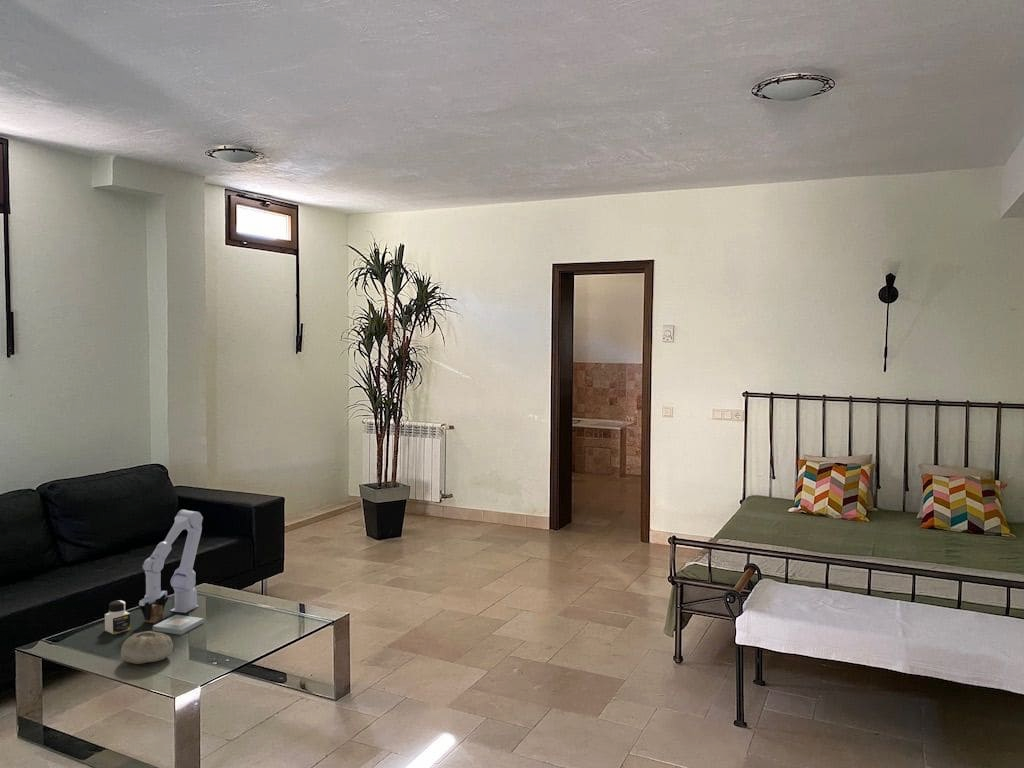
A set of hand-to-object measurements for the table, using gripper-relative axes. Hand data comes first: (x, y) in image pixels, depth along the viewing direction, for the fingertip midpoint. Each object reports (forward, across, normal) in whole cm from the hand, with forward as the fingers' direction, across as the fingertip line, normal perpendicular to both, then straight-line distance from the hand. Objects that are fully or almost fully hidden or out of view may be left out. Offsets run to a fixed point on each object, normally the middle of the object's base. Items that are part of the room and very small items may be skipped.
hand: (153, 617), depth 339 cm
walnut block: (+2, 0, 0) cm, 2 cm away
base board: (+1, +3, +15) cm, 15 cm away
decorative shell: (+2, +35, +27) cm, 44 cm away
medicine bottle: (+2, +14, -6) cm, 15 cm away
